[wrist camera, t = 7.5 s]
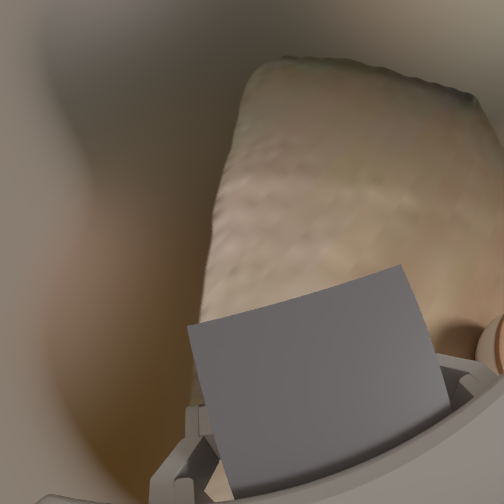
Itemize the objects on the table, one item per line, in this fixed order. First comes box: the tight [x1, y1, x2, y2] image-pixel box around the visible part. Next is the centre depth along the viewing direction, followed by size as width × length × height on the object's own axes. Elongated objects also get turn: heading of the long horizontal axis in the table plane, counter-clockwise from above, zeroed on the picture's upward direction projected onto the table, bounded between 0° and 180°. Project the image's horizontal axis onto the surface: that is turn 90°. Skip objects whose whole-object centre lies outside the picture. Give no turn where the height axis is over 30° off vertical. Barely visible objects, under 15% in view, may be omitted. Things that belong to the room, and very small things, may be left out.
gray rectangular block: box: [187, 264, 452, 500], centre depth 10 cm, size 6×6×8 cm
